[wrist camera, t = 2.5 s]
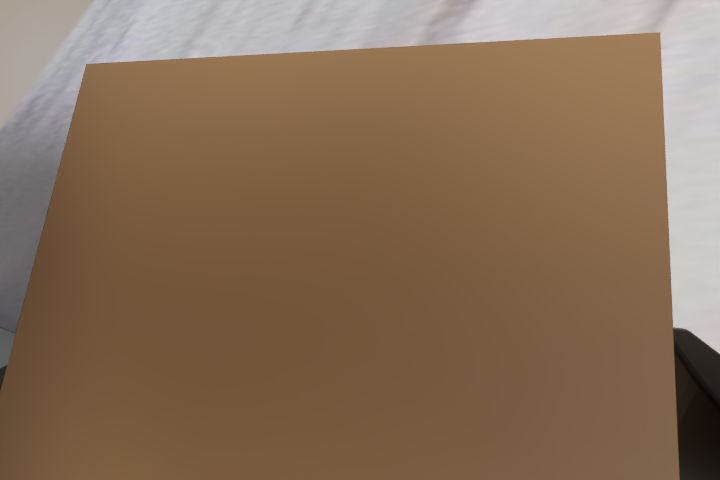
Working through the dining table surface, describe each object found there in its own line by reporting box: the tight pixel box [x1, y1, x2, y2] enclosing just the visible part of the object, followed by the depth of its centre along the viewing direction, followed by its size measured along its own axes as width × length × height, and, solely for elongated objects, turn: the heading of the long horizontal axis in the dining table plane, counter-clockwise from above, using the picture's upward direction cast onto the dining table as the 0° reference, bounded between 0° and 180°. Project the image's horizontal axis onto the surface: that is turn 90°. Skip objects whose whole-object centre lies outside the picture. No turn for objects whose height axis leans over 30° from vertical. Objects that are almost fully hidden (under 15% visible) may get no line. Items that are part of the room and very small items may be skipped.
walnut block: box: [0, 33, 680, 480], centre depth 9 cm, size 5×5×13 cm
